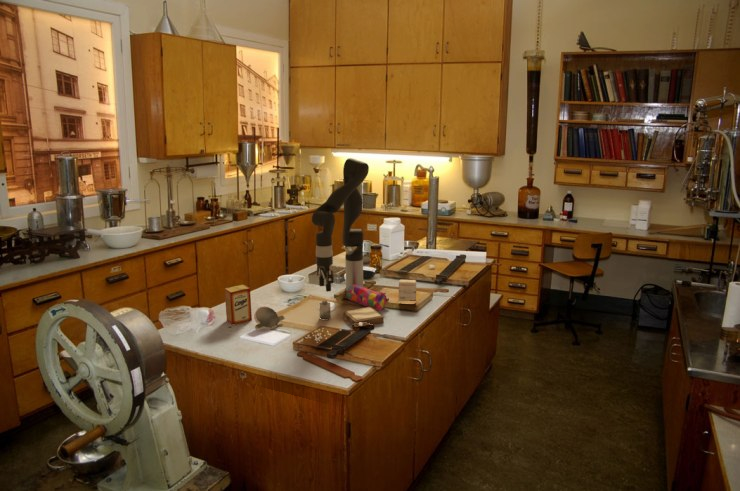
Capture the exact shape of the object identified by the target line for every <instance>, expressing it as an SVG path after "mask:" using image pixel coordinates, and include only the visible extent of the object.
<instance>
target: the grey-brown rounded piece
mask: <svg viewBox="0 0 740 491" xmlns="http://www.w3.org/2000/svg"><path fill="white" fill-rule="evenodd" d="M253 318H254V320H255V323H256V324H255V325H254V329H255V330H256V331H259V329H260V330H262V329H263V330H268V329H271V330H272V329H275V328H277V326H278V325H279V323H281V322H283V321H282V320H286V318H285V316H284V315H283V314H282V315H280V316H278V314H277V312H276V311H275V310H274V309H273V308H271V307H269V306H260V307H259V308H257V309H256V311H255V313H254V316H253ZM280 321H281V322H280Z"/></svg>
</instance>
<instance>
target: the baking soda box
mask: <svg viewBox="0 0 740 491" xmlns="http://www.w3.org/2000/svg"><path fill="white" fill-rule="evenodd" d="M224 298H225V300H224V302H225V313H226V314H225V316H226V322H228V323H229V322H230V323H231V325H232V324H235V325H238V324H243V323H246V322H251V321H252V320H253V318H252V315H253V314H252V302H251V301H252V299H251V288H250V287H248V286H247V285H246V284H239V285H235V286H231V287H226V288H224ZM230 323H229V324H230Z"/></svg>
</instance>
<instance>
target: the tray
mask: <svg viewBox="0 0 740 491" xmlns="http://www.w3.org/2000/svg"><path fill="white" fill-rule="evenodd" d="M342 312H343V313H342V314H343V318H344V319H345V320H346V321H347V323H349V324H350V325H352V324H354V323H359V322H367V323H370V324H373V325H372V326H374V325H380V324H384V322H385V319H384V318H385V317H384V316H383V315H382V314H380V313H379V311H378V310H375V309H373V308H372V307H367V306H365V307H362V308H361V307H360V308H355V309H350V310H349V309H348V310H344V311H342ZM352 326H353V325H352Z"/></svg>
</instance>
